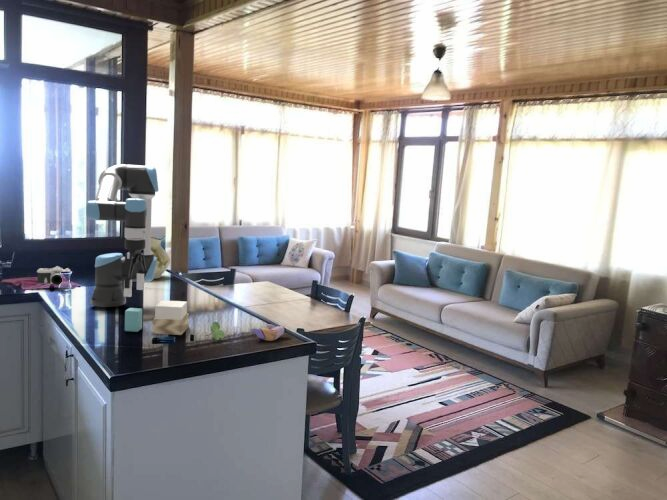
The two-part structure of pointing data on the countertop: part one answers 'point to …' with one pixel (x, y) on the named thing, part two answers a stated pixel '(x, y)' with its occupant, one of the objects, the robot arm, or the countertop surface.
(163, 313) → the tower top
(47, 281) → the camera
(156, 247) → the pitcher
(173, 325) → the tower bottom
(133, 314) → the teal block
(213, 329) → the seedling
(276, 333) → the toy
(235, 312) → the countertop surface
